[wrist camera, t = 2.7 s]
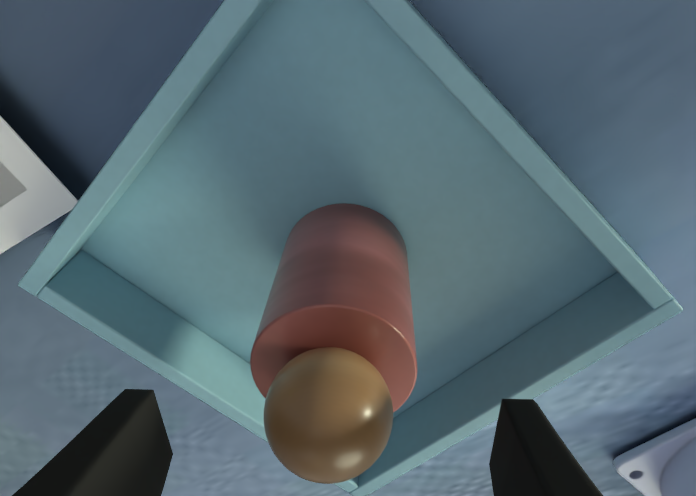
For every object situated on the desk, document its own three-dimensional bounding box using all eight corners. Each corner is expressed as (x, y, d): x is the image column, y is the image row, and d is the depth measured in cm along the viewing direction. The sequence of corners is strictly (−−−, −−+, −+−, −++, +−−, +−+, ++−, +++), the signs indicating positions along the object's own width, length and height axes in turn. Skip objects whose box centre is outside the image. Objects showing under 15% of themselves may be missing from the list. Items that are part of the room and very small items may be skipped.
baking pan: (644, 263, 16) (685, 310, 14) (361, 446, 22) (359, 500, 19) (318, -100, 12) (304, -112, 10) (61, 243, 17) (16, 285, 15)
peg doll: (432, 258, 16) (471, 474, 10) (348, 325, 18) (329, 550, 11) (342, 177, 15) (312, 360, 8) (260, 257, 17) (179, 465, 10)
